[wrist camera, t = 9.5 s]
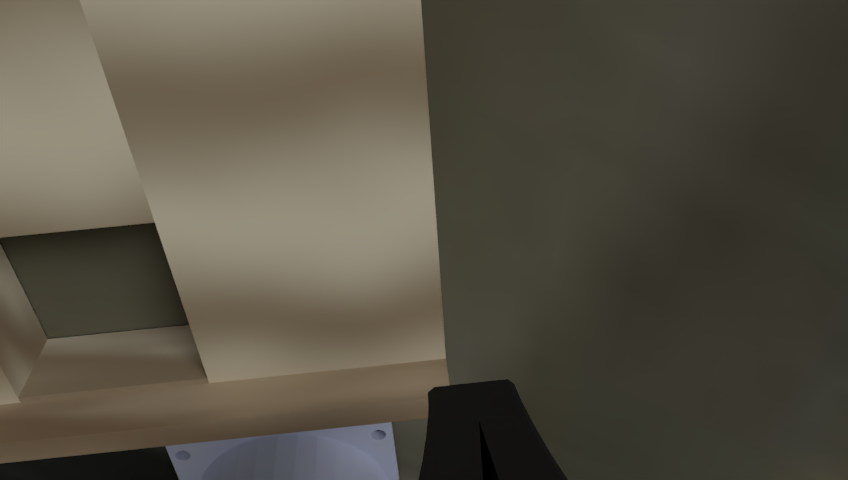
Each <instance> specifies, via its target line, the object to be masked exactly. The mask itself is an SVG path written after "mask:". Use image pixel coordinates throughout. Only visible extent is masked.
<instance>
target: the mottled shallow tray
mask: <svg viewBox="0 0 848 480" xmlns="http://www.w3.org/2000/svg"><path fill="white" fill-rule="evenodd" d="M145 223H155V225H156V228H157V230H158V233H159V236H160V239H161V242H162V245H163V248H164V251H165V254H166V257H167V260H168V263H169V266H170V269H171V272H172V275H173V278H174V281H175V284H176V287H177V290H178V293H179V296H180V298H181V301H182V304H183V307H184V310H185V313H186V316H187V319H188V322H189V325H183V326H173V327H163V328H153V329H143V330H133V331H124V332H114V333H104V334H94V335H84V336H74V337H65V338H55V339H47V337H46V335H45V333H44V331H43V329H42V327H41V325H40V323H39V321H38V319H37V317H36V315H35V313H34V311H33V309H32V307H31V304H30V302H29V300H28V298H27V296H26V294H25V292H24V290H23V288H22V286H21V284H20V282H19V280H18V278H17V276H16V274H15V272H14V270H13V268H12V266H11V264H10V262H9V260H8V258H7V256H6V254H5V252H4V250H3V248H2V246H1V244H0V463H9V462H19V461H28V460H38V459H47V458H57V457H66V456H76V455H85V454H95V453H104V452H114V451H123V450H133V449H142V448H152V447H161V446H171V445H180V444H190V443H199V442H209V441H218V440H228V439H237V438H247V437H256V436H266V435H275V434H285V433H294V432H304V431H313V430H322V429H332V428H341V427H351V426H360V425H370V424H379V423H389V422H398V421H408V420H417V419H427V418H428V392H429V391H430V390H431V389H433V388H434V387H440V386H449V385H450V384H449V377H448V370H447V363H446V354H445V340H444V325H443V311H442V297H441V282H440V268H439V254H438V239H437V225H436V211H435V196H434V182H433V168H432V153H431V139H430V125H429V110H428V96H427V82H426V67H425V53H424V39H423V25H422V10H421V0H0V238H2V237H12V236H22V235H32V234H43V233H53V232H63V231H73V230H83V229H94V228H104V227H114V226H124V225H134V224H145Z"/></svg>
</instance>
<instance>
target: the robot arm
mask: <svg viewBox="0 0 848 480" xmlns="http://www.w3.org/2000/svg"><path fill="white" fill-rule="evenodd" d="M376 430H382V431H376ZM165 447H166V450H167V452H168V454H169V457H170V459H171V462H172V464H173V466H174V469H175V471H176V474H177V476H178V478H179V480H400V479H399V472H398V465H397V457H396V450H395V443H394V436H393V429H392V422H389V423H379V424H370V425H360V426H351V427H341V428H332V429H322V430H313V431H304V432H294V433H285V434H275V435H266V436H256V437H247V438H237V439H228V440H218V441H209V442H199V443H190V444H180V445H171V446H165ZM419 480H567V478H566V477H565V475H564V474H563V472H562V470H561V469H560V467H559V466H558V464H557V463H556V461H555V460H554V458H553V457H552V455H551V453H550V452H549V450H548V448H547V447H546V445H545V443H544V442H543V440H542V438H541V436H540V435H539V433H538V431H537V430H536V428H535V426H534V424H533V422H532V420H531V419H530V417H529V415H528V413H527V411H526V409H525V407H524V405H523V403H522V401H521V399H520V397H519V394H518V392H517V390H516V387H515V385H514V384H513V383H512V382H511V381H509V380H508V379H507V380H497V381H488V382H478V383H468V384H459V385H449V386H440V387H434V388H433V389H431V390H430V391H429V392H428V425H427V435H426V442H425V449H424V456H423V462H422V467H421V471H420V476H419Z"/></svg>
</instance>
